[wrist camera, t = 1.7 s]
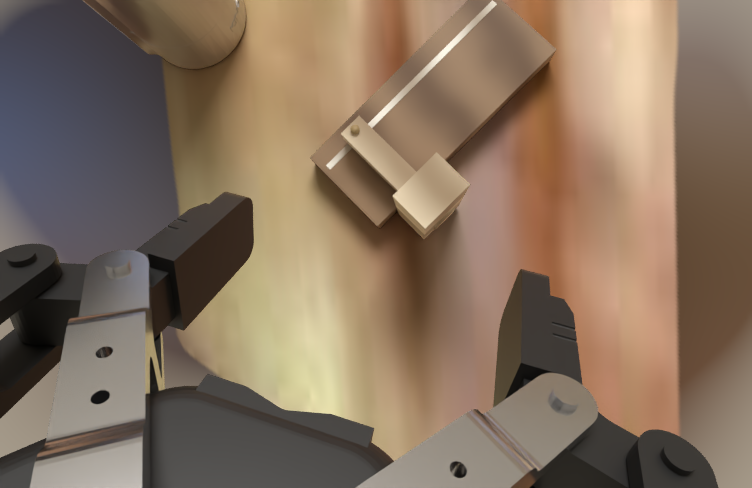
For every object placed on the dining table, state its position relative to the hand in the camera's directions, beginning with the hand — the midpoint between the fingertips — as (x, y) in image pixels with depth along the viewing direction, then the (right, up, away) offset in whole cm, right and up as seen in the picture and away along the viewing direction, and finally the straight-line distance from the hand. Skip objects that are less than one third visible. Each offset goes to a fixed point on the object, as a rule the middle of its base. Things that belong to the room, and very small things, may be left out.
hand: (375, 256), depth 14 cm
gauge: (+2, +6, +26) cm, 26 cm away
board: (+5, +12, +26) cm, 29 cm away
